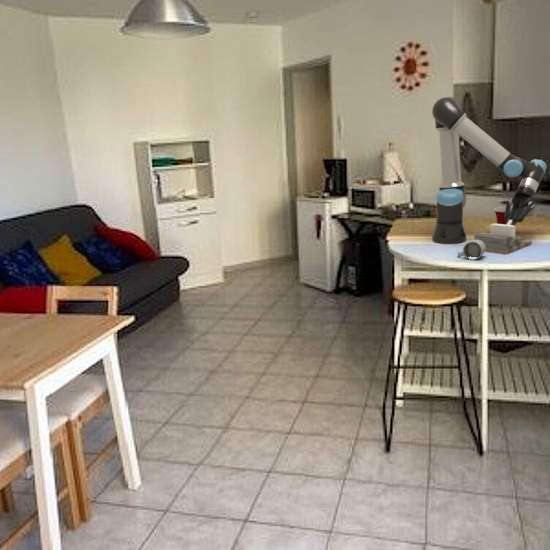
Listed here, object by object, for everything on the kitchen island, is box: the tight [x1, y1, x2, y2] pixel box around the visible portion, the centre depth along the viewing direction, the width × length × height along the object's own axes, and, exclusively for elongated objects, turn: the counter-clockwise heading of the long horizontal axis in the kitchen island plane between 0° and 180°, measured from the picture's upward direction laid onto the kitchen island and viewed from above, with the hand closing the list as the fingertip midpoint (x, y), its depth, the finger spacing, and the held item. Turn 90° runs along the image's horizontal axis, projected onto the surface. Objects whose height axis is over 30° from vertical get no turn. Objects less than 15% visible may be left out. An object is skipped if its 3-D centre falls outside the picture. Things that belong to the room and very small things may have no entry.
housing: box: [473, 232, 532, 255], centre depth 248 cm, size 22×16×6 cm
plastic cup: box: [493, 205, 513, 224], centre depth 274 cm, size 11×11×12 cm
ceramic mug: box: [457, 239, 486, 260], centre depth 235 cm, size 11×8×8 cm
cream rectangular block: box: [489, 222, 517, 239], centre depth 248 cm, size 3×10×8 cm, turn 41°
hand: (506, 233), depth 250 cm, fingers closed
